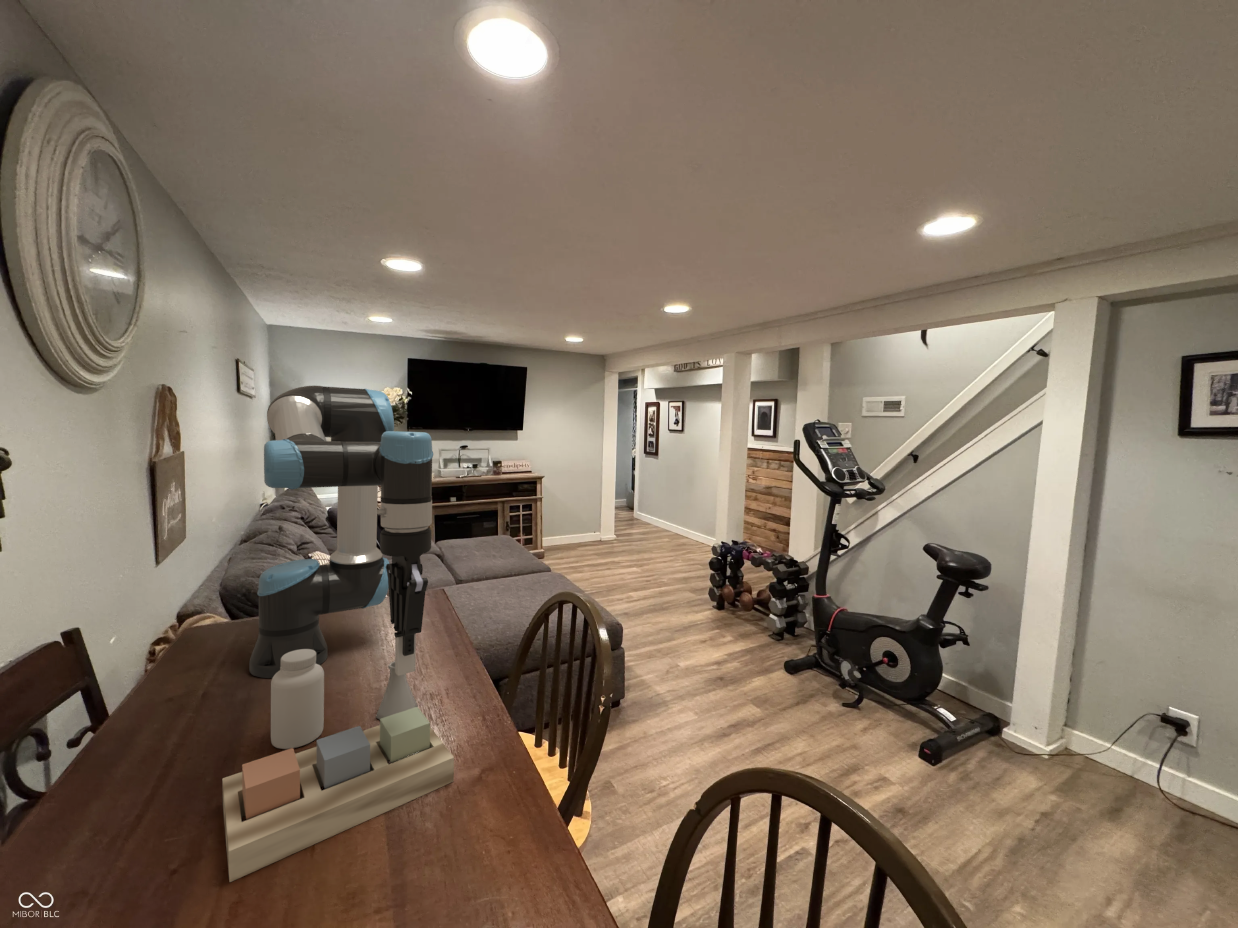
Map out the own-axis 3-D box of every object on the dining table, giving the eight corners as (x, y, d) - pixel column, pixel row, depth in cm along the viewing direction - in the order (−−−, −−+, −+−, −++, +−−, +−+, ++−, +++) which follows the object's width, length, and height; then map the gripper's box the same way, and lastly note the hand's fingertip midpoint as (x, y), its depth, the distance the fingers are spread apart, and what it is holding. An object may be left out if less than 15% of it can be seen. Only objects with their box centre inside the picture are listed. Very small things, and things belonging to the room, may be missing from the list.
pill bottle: (334, 728, 90) (334, 649, 89) (292, 755, 83) (292, 669, 82) (302, 719, 93) (302, 642, 92) (259, 744, 85) (258, 660, 84)
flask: (401, 726, 92) (402, 674, 91) (368, 720, 93) (368, 669, 93) (424, 705, 99) (425, 657, 98) (392, 700, 100) (393, 653, 100)
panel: (222, 804, 72) (222, 778, 71) (418, 732, 90) (418, 711, 90) (229, 882, 60) (228, 851, 59) (453, 781, 78) (454, 757, 78)
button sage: (379, 743, 81) (379, 718, 81) (417, 729, 85) (417, 706, 84) (391, 762, 76) (391, 736, 76) (429, 747, 80) (430, 722, 80)
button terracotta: (242, 793, 69) (242, 764, 69) (293, 774, 73) (293, 747, 73) (246, 819, 64) (245, 788, 64) (300, 798, 68) (299, 769, 68)
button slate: (316, 766, 75) (316, 739, 75) (359, 750, 79) (359, 725, 79) (324, 788, 70) (324, 760, 70) (370, 770, 74) (370, 744, 74)
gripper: (369, 523, 81) (369, 663, 82) (394, 537, 71) (393, 695, 72) (416, 519, 86) (415, 651, 87) (445, 532, 76) (443, 680, 77)
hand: (405, 671), depth 80 cm, fingers closed
